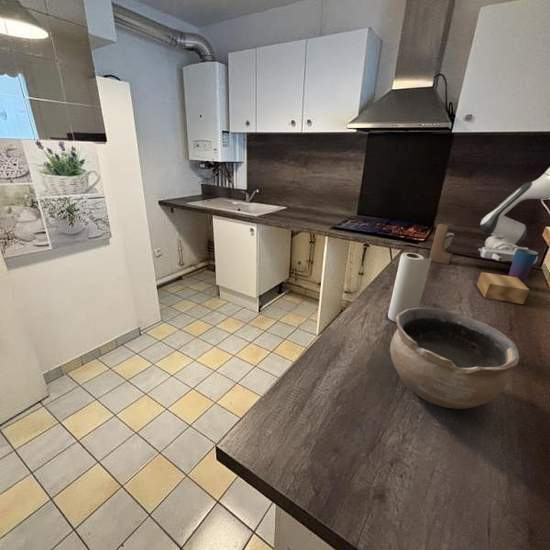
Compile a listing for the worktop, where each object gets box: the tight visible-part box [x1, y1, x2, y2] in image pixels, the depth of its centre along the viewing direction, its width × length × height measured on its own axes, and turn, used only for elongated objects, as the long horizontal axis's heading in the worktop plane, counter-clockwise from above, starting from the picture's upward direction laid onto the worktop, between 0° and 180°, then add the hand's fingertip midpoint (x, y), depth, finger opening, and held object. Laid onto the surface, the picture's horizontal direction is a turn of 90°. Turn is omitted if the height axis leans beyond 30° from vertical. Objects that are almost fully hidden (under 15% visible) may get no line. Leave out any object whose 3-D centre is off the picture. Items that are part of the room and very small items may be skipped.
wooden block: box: [428, 223, 453, 265], centre depth 139 cm, size 9×4×18 cm, turn 53°
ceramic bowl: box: [389, 307, 520, 410], centre depth 63 cm, size 22×22×15 cm
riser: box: [476, 271, 530, 305], centre depth 110 cm, size 12×12×6 cm
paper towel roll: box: [387, 252, 432, 323], centre depth 88 cm, size 7×6×21 cm
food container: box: [444, 232, 455, 252], centre depth 156 cm, size 12×6×10 cm, turn 130°
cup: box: [507, 248, 539, 284], centre depth 116 cm, size 7×7×15 cm
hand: (513, 260), depth 123 cm, fingers open, 8 cm apart
